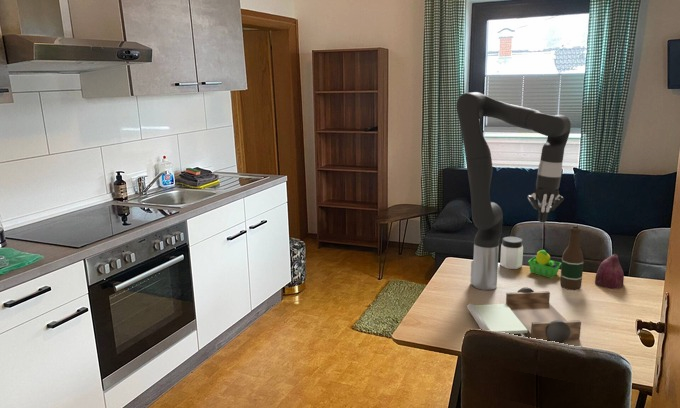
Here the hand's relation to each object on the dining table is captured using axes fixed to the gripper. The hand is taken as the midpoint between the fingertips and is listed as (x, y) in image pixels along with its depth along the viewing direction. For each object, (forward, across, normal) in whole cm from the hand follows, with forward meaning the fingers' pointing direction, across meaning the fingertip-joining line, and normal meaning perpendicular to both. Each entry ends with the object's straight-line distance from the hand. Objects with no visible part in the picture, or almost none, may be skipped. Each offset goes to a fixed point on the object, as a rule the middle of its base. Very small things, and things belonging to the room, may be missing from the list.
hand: (541, 221), depth 178 cm
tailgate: (+28, +13, +18) cm, 36 cm away
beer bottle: (+29, -20, -8) cm, 36 cm away
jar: (+31, -7, -33) cm, 46 cm away
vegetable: (+28, -36, -9) cm, 47 cm away
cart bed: (+29, +5, +19) cm, 35 cm away
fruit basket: (+30, -16, -22) cm, 41 cm away
